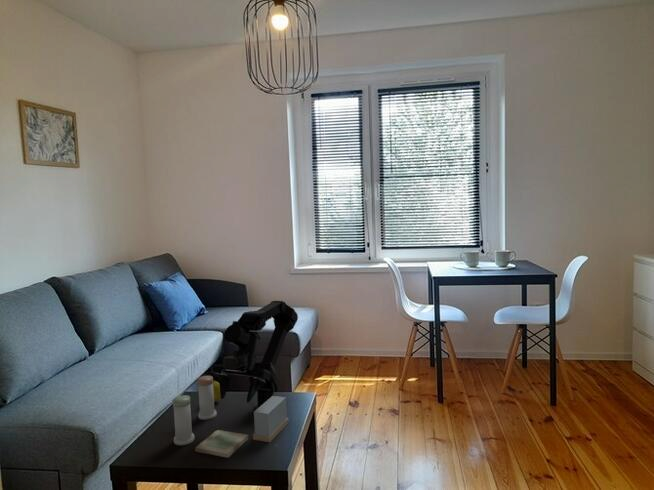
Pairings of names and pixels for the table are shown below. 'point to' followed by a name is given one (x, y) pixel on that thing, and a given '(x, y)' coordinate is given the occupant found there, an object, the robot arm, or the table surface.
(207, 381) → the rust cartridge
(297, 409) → the table surface
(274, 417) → the block
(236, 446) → the pad
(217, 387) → the lemon
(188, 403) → the knob
